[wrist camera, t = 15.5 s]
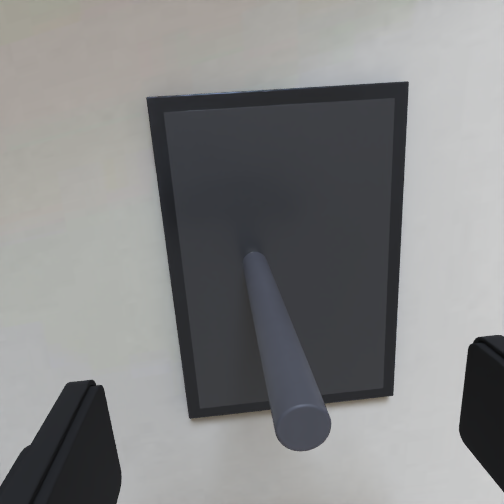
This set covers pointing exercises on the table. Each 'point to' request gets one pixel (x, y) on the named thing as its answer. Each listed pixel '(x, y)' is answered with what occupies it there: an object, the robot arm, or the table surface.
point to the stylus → (284, 363)
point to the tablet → (283, 232)
